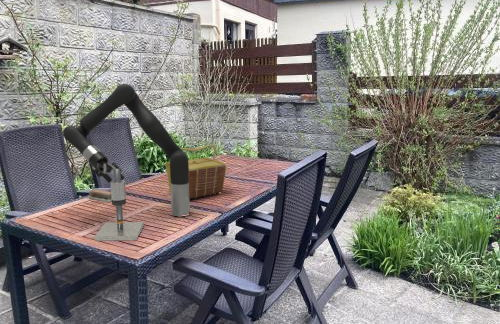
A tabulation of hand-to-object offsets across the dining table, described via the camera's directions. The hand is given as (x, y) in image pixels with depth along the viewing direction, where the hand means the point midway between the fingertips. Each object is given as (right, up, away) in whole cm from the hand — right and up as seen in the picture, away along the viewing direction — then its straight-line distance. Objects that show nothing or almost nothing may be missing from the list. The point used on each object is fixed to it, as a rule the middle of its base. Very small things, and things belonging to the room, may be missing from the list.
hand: (117, 180), depth 193 cm
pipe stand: (+2, -24, 0) cm, 24 cm away
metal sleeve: (+2, -8, -3) cm, 9 cm away
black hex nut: (+2, -11, -3) cm, 11 cm away
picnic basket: (+28, -12, +64) cm, 71 cm away
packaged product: (-25, -14, +54) cm, 61 cm away
